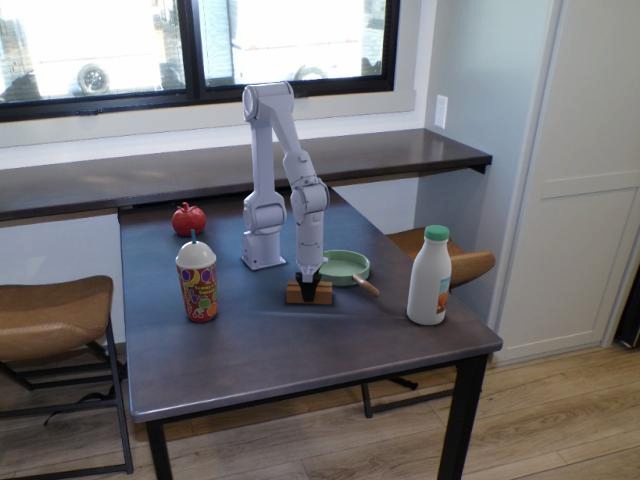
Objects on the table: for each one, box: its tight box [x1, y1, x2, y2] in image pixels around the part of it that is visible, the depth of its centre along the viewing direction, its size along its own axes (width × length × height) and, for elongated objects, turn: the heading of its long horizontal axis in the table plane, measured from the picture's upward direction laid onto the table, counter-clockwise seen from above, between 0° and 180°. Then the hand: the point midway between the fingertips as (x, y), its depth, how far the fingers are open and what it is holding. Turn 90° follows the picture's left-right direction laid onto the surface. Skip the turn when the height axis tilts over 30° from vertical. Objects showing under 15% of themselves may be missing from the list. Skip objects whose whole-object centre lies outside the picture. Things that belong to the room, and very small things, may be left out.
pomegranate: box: [171, 202, 207, 237], centre depth 152 cm, size 10×10×9 cm
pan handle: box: [352, 274, 381, 299], centre depth 118 cm, size 10×2×2 cm, turn 23°
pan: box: [318, 249, 371, 287], centre depth 128 cm, size 15×15×3 cm
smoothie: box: [174, 229, 218, 323], centre depth 108 cm, size 8×8×20 cm
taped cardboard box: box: [285, 280, 333, 305], centre depth 117 cm, size 10×5×4 cm, turn 83°
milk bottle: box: [406, 224, 452, 326], centre depth 105 cm, size 8×8×20 cm
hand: (309, 295), depth 117 cm, fingers closed on taped cardboard box, 4 cm apart
